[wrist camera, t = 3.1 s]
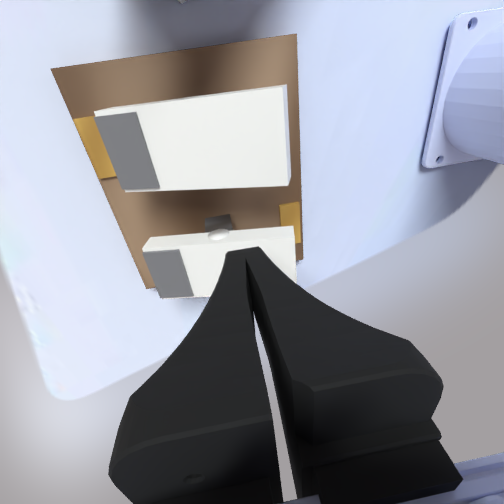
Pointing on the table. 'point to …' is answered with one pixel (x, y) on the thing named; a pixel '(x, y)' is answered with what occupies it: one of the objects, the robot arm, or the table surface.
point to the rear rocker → (211, 257)
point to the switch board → (180, 86)
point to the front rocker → (200, 141)
